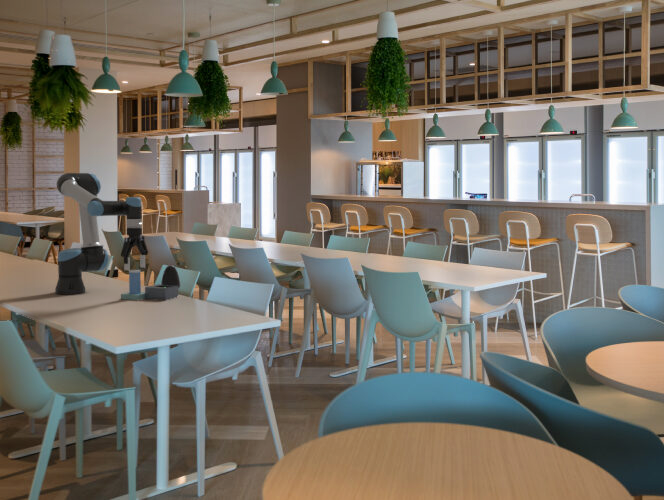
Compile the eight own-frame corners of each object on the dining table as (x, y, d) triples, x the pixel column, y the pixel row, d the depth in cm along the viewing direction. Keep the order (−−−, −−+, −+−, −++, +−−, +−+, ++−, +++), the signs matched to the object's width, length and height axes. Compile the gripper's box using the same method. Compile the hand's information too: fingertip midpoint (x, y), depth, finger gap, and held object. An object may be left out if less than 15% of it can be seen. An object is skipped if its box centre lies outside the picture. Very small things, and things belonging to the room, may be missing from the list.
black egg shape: (183, 292, 377) (182, 264, 376) (176, 295, 367) (176, 266, 365) (164, 291, 378) (164, 264, 377) (158, 294, 368) (158, 266, 366)
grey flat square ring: (120, 298, 352) (120, 294, 352) (132, 296, 361) (132, 291, 361) (137, 300, 349) (137, 295, 349) (149, 297, 358) (148, 292, 358)
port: (145, 298, 353) (144, 286, 353) (158, 295, 365) (158, 283, 364) (165, 300, 349) (165, 287, 349) (178, 296, 361) (178, 284, 360)
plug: (129, 298, 354) (128, 270, 353) (134, 297, 358) (133, 269, 357) (136, 299, 352) (135, 271, 351) (140, 297, 356) (140, 270, 355)
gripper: (125, 228, 339) (126, 271, 341) (154, 226, 362) (155, 266, 364) (112, 228, 341) (113, 271, 343) (142, 226, 365) (143, 266, 367)
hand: (135, 268), depth 354 cm, fingers open, 13 cm apart
